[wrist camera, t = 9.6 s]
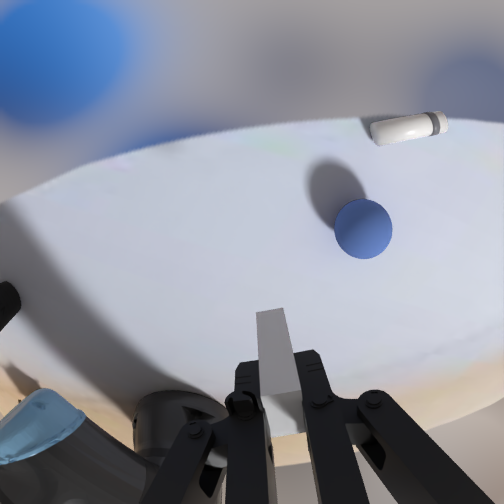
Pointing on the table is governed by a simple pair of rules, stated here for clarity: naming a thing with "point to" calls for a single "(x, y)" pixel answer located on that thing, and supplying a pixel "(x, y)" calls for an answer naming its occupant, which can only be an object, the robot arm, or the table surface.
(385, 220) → the ball
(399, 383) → the table surface
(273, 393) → the robot arm
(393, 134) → the pin
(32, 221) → the table surface
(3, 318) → the drinking cup
